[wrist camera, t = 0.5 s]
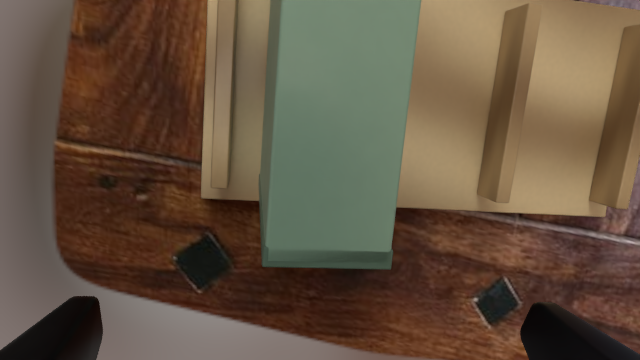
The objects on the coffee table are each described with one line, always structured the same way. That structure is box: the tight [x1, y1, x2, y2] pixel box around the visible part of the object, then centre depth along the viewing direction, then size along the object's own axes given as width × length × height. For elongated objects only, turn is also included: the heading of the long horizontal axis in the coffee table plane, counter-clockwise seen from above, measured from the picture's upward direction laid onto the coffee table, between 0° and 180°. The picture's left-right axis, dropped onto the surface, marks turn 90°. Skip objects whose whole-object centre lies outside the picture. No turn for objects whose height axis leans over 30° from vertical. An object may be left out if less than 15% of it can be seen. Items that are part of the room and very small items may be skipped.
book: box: [258, 0, 421, 269], centre depth 16 cm, size 10×4×11 cm, turn 175°
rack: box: [201, 0, 640, 217], centre depth 22 cm, size 12×24×3 cm, turn 85°
